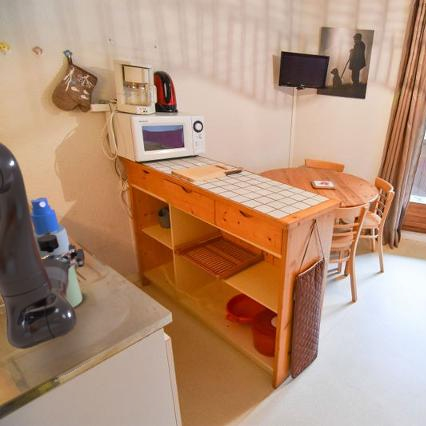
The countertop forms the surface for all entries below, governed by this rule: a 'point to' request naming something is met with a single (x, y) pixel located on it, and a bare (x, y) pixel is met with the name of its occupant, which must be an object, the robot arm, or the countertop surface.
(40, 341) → the robot arm
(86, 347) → the countertop surface
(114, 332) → the countertop surface
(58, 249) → the spray bottle
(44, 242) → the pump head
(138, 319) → the countertop surface
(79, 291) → the dispenser
